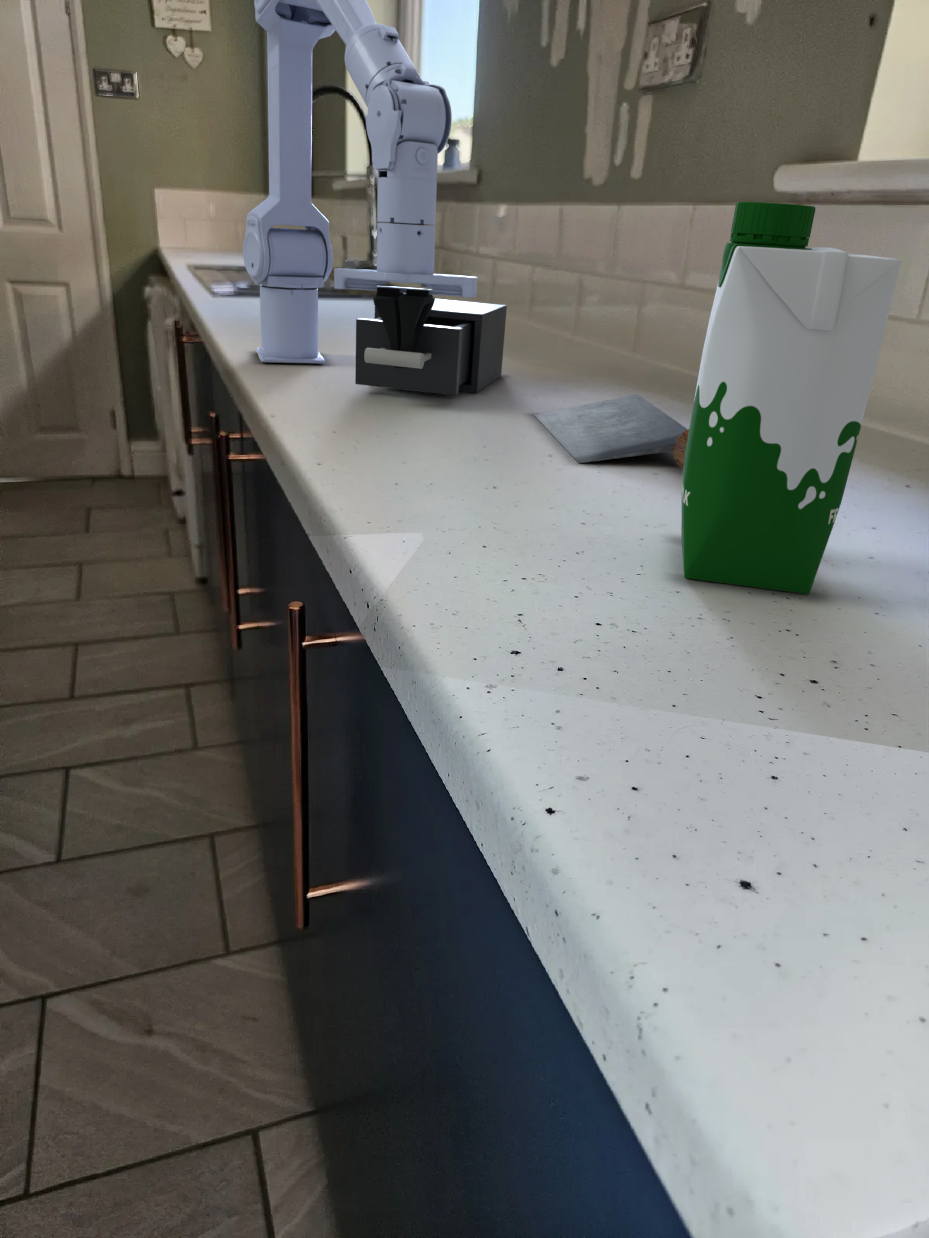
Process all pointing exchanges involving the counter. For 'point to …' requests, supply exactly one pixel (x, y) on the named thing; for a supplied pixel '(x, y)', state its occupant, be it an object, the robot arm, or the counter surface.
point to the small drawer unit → (478, 337)
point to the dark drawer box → (416, 356)
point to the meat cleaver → (616, 430)
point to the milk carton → (779, 399)
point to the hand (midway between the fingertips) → (403, 367)
